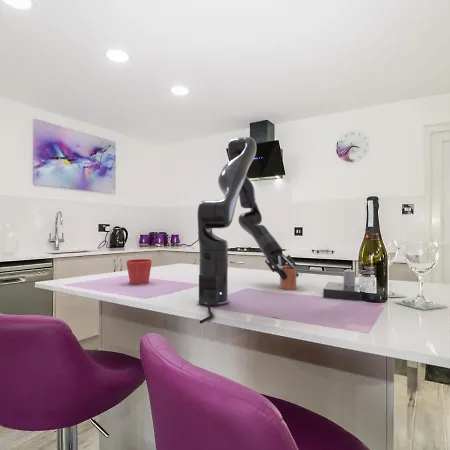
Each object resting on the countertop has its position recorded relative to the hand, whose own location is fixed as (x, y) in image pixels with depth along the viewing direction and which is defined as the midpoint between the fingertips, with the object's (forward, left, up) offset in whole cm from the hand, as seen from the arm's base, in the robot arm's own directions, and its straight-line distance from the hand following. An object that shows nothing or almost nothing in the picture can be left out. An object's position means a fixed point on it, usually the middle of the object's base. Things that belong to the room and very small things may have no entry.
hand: (291, 277), depth 131 cm
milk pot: (+1, +1, -4) cm, 5 cm away
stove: (-3, -20, -4) cm, 20 cm away
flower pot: (-13, +63, -5) cm, 65 cm away
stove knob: (-1, -22, -1) cm, 22 cm away
